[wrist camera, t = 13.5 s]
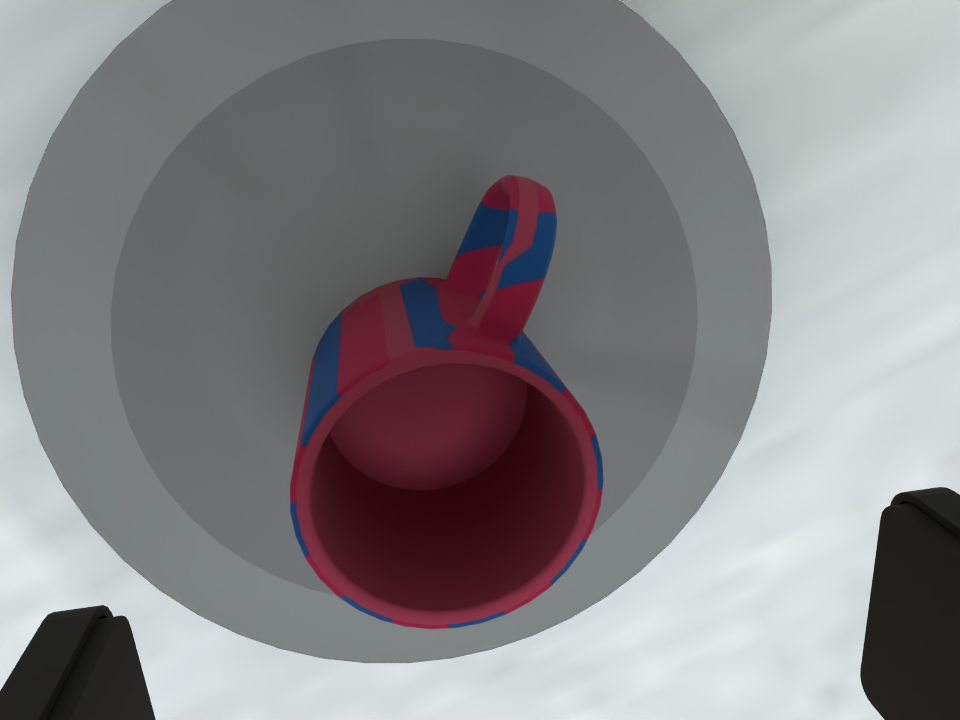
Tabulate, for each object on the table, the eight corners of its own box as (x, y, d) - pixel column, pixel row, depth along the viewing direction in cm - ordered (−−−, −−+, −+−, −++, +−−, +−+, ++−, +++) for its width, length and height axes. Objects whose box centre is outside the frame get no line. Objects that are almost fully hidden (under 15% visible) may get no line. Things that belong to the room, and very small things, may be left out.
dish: (-74, -41, 18) (-105, -52, 17) (771, -76, 21) (798, -88, 20) (123, 687, 25) (111, 717, 24) (738, 588, 28) (756, 610, 27)
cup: (274, 446, 22) (241, 581, 16) (410, 125, 20) (436, 129, 14) (477, 516, 24) (522, 663, 18) (622, 228, 22) (734, 275, 15)
